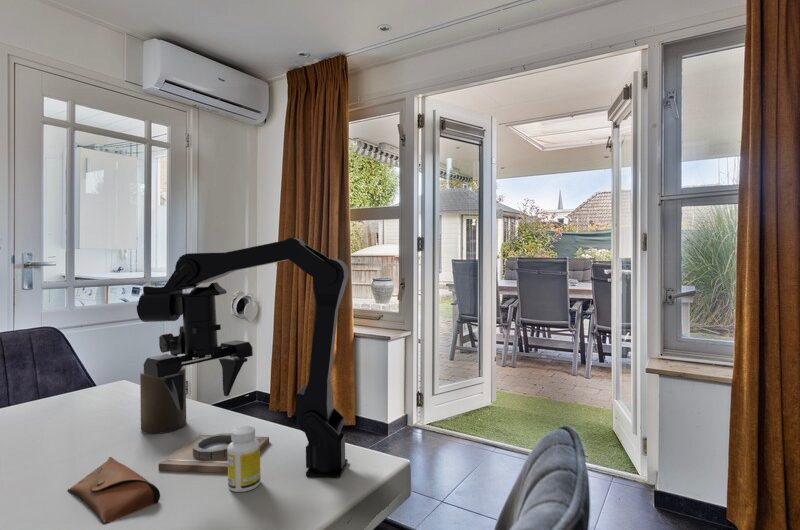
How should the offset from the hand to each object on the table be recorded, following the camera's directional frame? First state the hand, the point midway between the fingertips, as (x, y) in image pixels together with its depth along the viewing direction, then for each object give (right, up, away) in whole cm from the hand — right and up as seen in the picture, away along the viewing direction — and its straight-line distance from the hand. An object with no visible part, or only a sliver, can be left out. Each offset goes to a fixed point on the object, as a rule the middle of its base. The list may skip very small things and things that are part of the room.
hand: (204, 402), depth 86 cm
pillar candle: (-19, -13, +23) cm, 33 cm away
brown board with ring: (0, -13, +7) cm, 14 cm away
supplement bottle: (+10, -13, -6) cm, 17 cm away
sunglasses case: (-12, -14, -8) cm, 20 cm away
